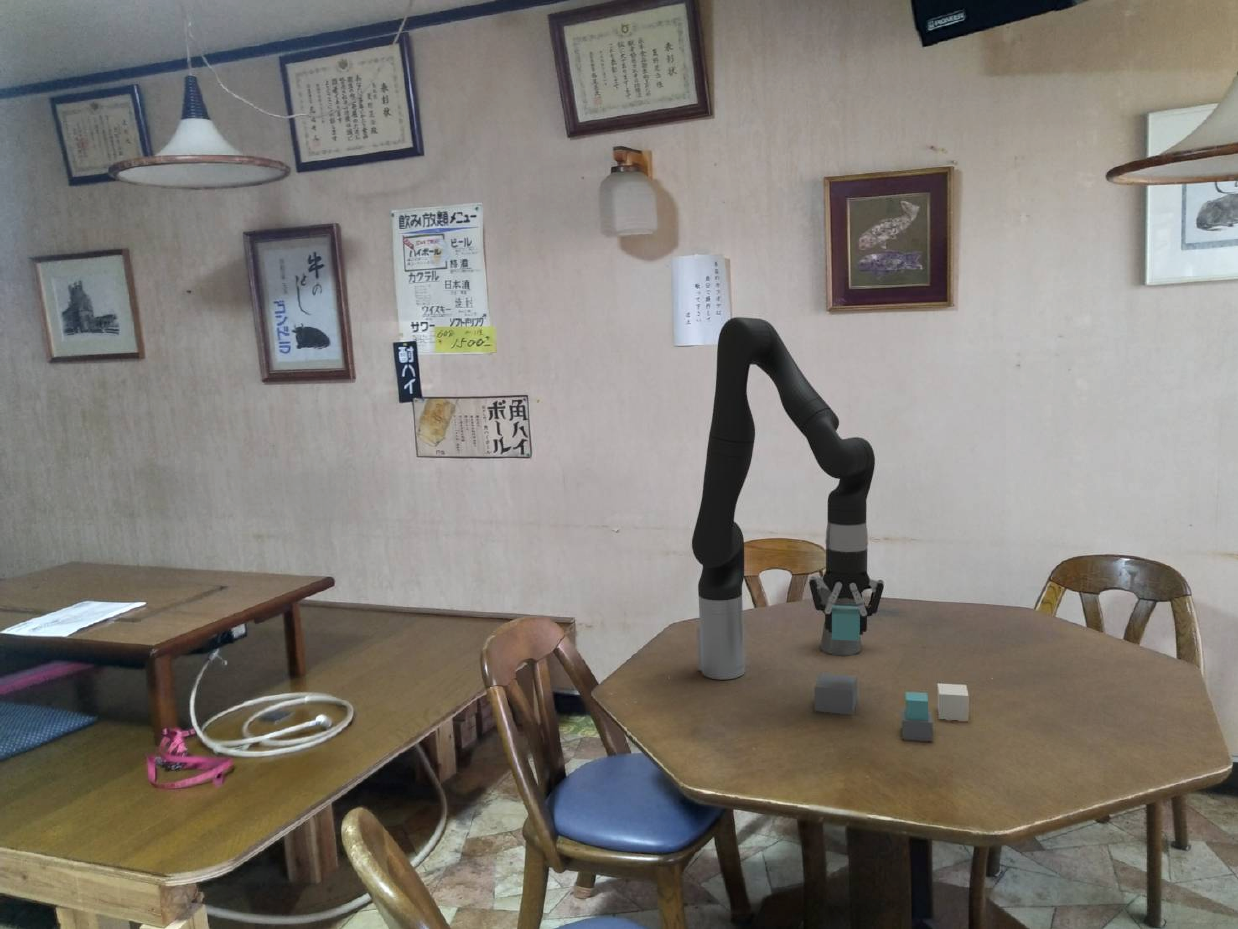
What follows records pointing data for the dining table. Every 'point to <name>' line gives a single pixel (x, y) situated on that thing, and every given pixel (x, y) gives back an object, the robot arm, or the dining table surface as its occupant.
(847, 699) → the charcoal block
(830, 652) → the coffeepot
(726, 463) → the robot arm
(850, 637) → the teal block
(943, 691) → the cream block
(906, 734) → the stack
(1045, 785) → the dining table surface
